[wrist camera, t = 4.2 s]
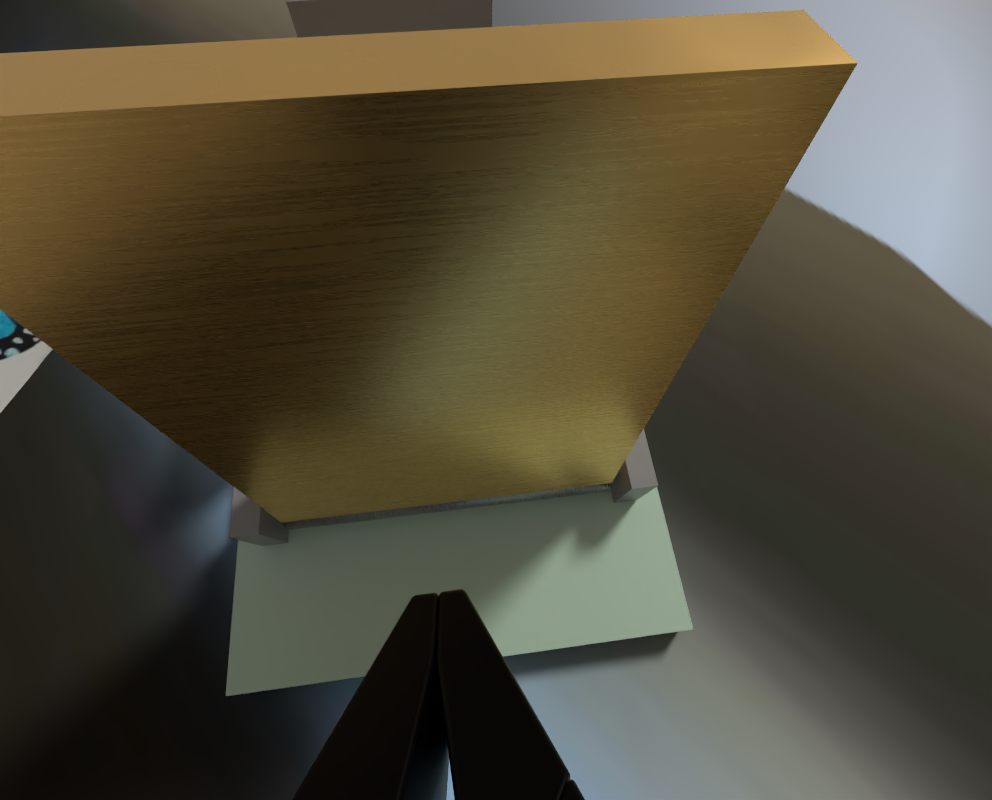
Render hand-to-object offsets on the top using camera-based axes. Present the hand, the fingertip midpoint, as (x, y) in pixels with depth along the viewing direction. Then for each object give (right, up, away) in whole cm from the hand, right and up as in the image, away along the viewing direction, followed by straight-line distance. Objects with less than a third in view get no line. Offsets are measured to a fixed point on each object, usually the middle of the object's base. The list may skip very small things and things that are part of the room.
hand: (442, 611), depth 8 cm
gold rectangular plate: (-1, +1, +7) cm, 7 cm away
